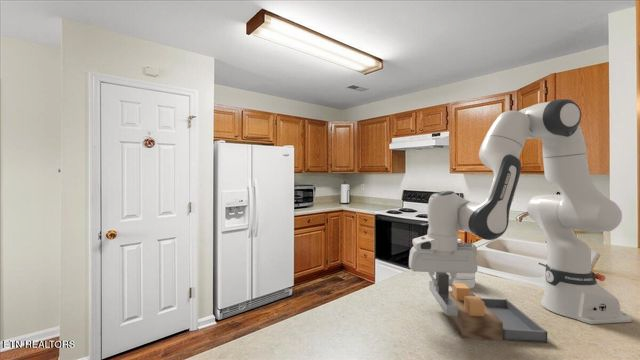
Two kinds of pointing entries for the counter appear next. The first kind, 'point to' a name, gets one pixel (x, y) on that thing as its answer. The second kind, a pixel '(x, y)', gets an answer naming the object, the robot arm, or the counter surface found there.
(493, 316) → the ledge
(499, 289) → the counter surface
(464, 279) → the honey pot
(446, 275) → the grey stick with cube
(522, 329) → the tray
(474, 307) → the block
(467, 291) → the block
